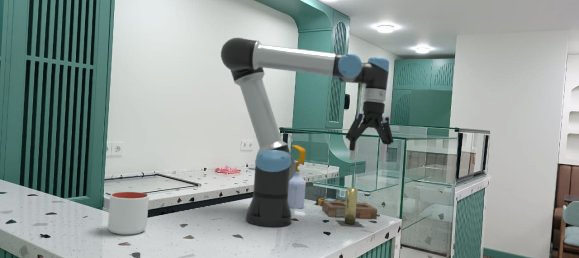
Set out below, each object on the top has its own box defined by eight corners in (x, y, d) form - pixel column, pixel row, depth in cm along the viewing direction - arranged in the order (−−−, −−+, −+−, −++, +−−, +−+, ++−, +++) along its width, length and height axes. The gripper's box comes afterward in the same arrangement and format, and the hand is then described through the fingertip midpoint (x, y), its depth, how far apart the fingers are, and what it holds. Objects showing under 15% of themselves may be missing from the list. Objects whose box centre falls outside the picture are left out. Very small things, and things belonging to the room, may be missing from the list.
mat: (341, 227, 137) (341, 226, 137) (335, 221, 145) (335, 220, 145) (364, 228, 138) (364, 227, 138) (357, 222, 146) (357, 221, 146)
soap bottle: (289, 203, 171) (294, 144, 171) (308, 207, 166) (313, 146, 166) (276, 205, 164) (281, 144, 164) (295, 210, 159) (300, 146, 158)
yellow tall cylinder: (345, 224, 140) (348, 189, 139) (343, 222, 143) (345, 187, 143) (356, 225, 140) (359, 190, 140) (353, 222, 144) (355, 188, 143)
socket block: (376, 220, 152) (377, 209, 152) (329, 218, 150) (330, 207, 149) (366, 212, 164) (366, 202, 164) (322, 210, 162) (322, 200, 162)
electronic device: (348, 213, 163) (349, 205, 163) (315, 206, 172) (315, 198, 172) (358, 210, 170) (358, 202, 170) (325, 203, 179) (325, 195, 179)
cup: (108, 237, 107) (111, 199, 107) (106, 227, 116) (109, 191, 116) (148, 235, 112) (151, 198, 112) (143, 225, 121) (146, 191, 121)
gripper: (353, 97, 137) (346, 160, 137) (407, 105, 149) (400, 163, 150) (339, 97, 143) (333, 157, 144) (392, 105, 156) (386, 161, 156)
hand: (367, 161), depth 147 cm, fingers open, 13 cm apart
